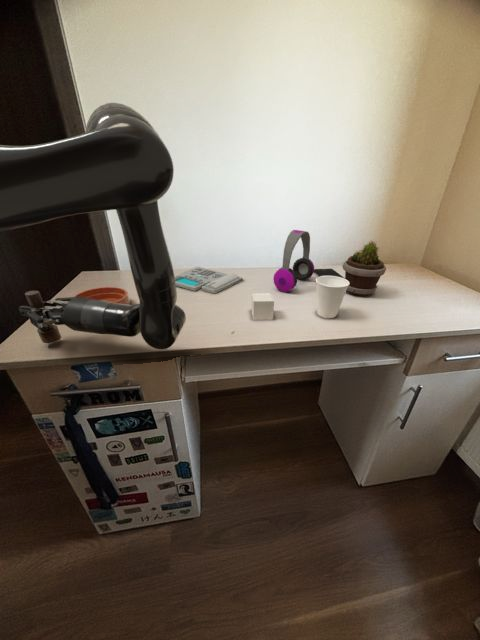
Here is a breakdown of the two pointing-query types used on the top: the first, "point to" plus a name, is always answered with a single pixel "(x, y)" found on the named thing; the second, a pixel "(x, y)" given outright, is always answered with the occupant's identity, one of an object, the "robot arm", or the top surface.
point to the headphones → (302, 267)
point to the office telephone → (206, 280)
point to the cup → (330, 295)
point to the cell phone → (327, 272)
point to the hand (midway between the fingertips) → (27, 307)
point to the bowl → (106, 294)
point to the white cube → (262, 306)
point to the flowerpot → (364, 271)
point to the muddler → (37, 302)
